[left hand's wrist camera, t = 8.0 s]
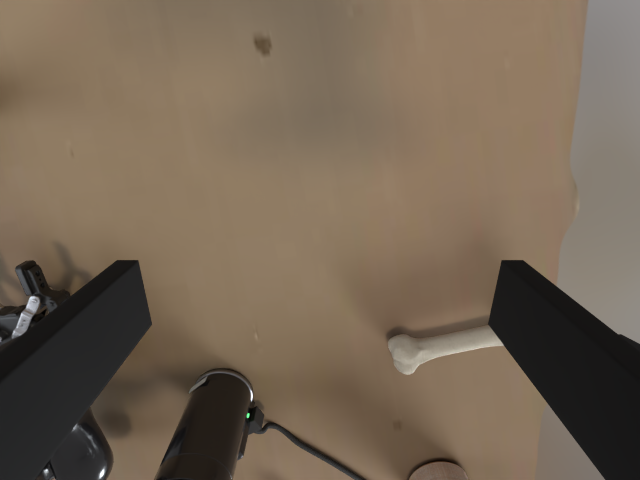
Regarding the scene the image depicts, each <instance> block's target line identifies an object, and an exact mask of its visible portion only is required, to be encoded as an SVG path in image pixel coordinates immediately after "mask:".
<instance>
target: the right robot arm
mask: <svg viewBox="0 0 640 480" xmlns="http://www.w3.org/2000/svg"><path fill="white" fill-rule="evenodd" d="M15 271H16V273H17V275H18V278H19V280H20V282H21V284H22V287H23V289H24V291H25V293H26V295H31V297H30V298H29V301H28V303H27V305H22V306H19V307H14V306H3V305H2V304H0V345H2V344H4V343H6V342H8V341H10V340H12V339H14V338H16V337H18V336H21V335H22V334H23V333H25V332H26V331H27V330H28V329H30V328H31V327H32V326H34V325H35V324H36V323H37V322H39V321H40V320H41V319H43V318H44V317H45V316H46V315H47V313H48V311H49V313H50V312H51V311H53V310H54V309H55V308H57V307H58V306H59V305H60V304H62V303H63V302H64V301H66V300H67V299H68V298H69V297H70V294H69V292H68V291H66V290H61V291H56V290H53V288H52V287H49V286H48V284H47V282H46V279H45V277H44V274H43V273H42V270H41V268H40V267H39V266H38V265H37V264H36V262H35V261H25V262H23V263H22V264H20V265H18V266H16V268H15ZM192 391H193V392H192ZM190 392H192V394H191V397H190V399H189V401H188V403H187V406H186V408H185V410H184V412H183V415H182V417H181V419H180V422H179V424H178V426H177V428H176V431H175V433H174V435H173V438H172V440H171V442H170V444H169V447H168V449H167V451H166V453H165V456H164V458H163V460H162V463H161V465H160V467H159V470H158V472H157V474H156V476H155V479H154V480H233V477H234V472H235V468H236V464H237V460H239V459H241V458H242V457H243V455H244V451H245V447H246V442H247V437H248V435H249V434H252V433H256V434H263V433H265V432H266V431H267V429H268V428H273V429H277V430H279V431H280V432H282V433H283V434H284V435H285V436H287V437H288V438H289V439H290V440H291V441H292V442H293V443H295V444H296V445H297V446H299V447H300V448H302V449H304V450H306V451H307V452H309V453H311V454H313V455H314V456H316V457H318V458H320V459H322V460H323V461H325V462H327V463H329V464H330V465H332V466H334V467H335V468H337V469H339V470H340V471H342V472H343V473H345V474H347V475H348V476H350V477H351V478H353V479H355V480H363V479H362V478H360V477H359V476H357V475H356V474H354V473H353V472H351V471H350V470H348V469H346V468H345V467H343V466H342V465H340V464H338V463H337V462H335V461H333V460H332V459H330V458H328V457H326V456H325V455H323V454H321V453H319V452H318V451H316V450H314V449H312V448H311V447H309V446H307V445H305V444H304V443H302V442H300V441H299V440H298V439H297V438H295V437H294V436H293V435H292V434H291V433H290V432H289V431H287V430H286V429H284V428H283V427H281V426H279V425H277V424H274V423H267V424H265V425H264V427H263V428H262V424H263V418H264V414H263V413H262V412H261V411H260V409H259V408H258V407H257V406H256V407H254V405H255V402H254V401H253V399H252V398H253V389H252V386H251V384H250V383H249V381H248V380H247V379H246V378H245V377H244V376H242V375H241V374H239V373H237V372H235V371H231V370H227V369H215V370H211V371H208V372H206V373H204V374H203V375H201V376H200V377H199V379H198V380H197V382H196V384H195V385H194V386H193V387H192V388H191V389H190V391H189V393H190ZM113 460H114V458H113V452H112V450H111V448H110V446H109V444H108V442H107V440H106V438H105V436H104V435H103V433H102V431H101V429H100V427H99V426H98V424H97V422H96V421H95V419H94V416H93V414H92V411H91V408H90V407H89V408H88V410H87V411H86V412H85V414H84V415H83V416H82V418H81V419H80V420H79V422H78V423H77V424H76V426H75V427H74V428H73V430H72V431H71V432H70V434H69V435H68V436H67V438H66V439H65V440H64V441H63V443H62V444H61V445H60V447H59V448H58V449H57V451H56V452H55V453H54V455H53V456H52V457H51V459H50V460H49V461H48V463H47V464H46V465H45V467H44V468H43V469H42V471H41V472H40V473H39V475H38V476H37V477H36V479H35V480H52V479H54V478H55V480H106V479H107V478H108V476H109V475H110V472H111V470H112V467H113Z"/></svg>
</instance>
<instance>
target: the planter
mask: <svg viewBox="0 0 640 480" xmlns="http://www.w3.org/2000/svg"><path fill="white" fill-rule="evenodd" d="M409 480H469V478H468V476H467V474H466V472H465V471H464V470H463V469H462V468H461V467H460V466H458V465H456V464H453V463H450V462H444V461H436V462H430V463H427V464H425V465H422V466H421V467H419V468H418V469H416V470H415V471H414V472H413V473H412V475H411V476H410V478H409Z"/></svg>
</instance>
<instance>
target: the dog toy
mask: <svg viewBox="0 0 640 480" xmlns="http://www.w3.org/2000/svg"><path fill="white" fill-rule="evenodd" d="M490 346H504V345H503V343H502V342H501V341H500V339H499V338H498V337H497V336H496V334H495V333H494V332H493V330H492V329H491V328H490V326H489V325H485V326H481V327H476V328H471V329H467V330H462V331H457V332H453V333H448V334H443V335H438V336H433V337H428V338H413V337H410V336H409V335H406V334H400V335H397V336H394V337H392V338H390V339H389V341H388V348H389V350H390V352H391V353H392V358H393V359H394V365H395V367H396V368H397V369H398V370H399V371H400V372H401V373H403V374H406V375H408V374H411V373H413V372H414V371H415V370H416V368H417V367H418V366H419V365H420V364H422V363H424V362H426V361H429V360H431V359H434V358H436V357H440V356H444V355H449V354H454V353H458V352H463V351H468V350H473V349H478V348H483V347H490Z"/></svg>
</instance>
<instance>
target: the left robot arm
mask: <svg viewBox="0 0 640 480" xmlns="http://www.w3.org/2000/svg"><path fill="white" fill-rule="evenodd" d="M151 325H152V322H151V318H150V313H149V308H148V304H147V299H146V294H145V290H144V285H143V280H142V276H141V271H140V266H139V262H138V260H117V261H115V262H114V263H113V264H112V265H110V266H109V267H108V268H106V269H105V270H104V271H103V272H101V273H100V274H99V275H98V276H96V277H95V278H94V279H92V280H91V281H90V282H89V283H87V284H86V285H85V286H83V287H82V288H81V289H80V290H78V291H77V292H76V293H75V294H73V295H72V296H71V297H69V298H68V299H67V300H66V301H64V302H63V303H62V304H60V305H59V306H58V307H57V308H55V309H54V310H53V311H51V312H50V313H49V314H48V315H46V316H45V317H44V318H43V319H41V320H40V321H39V322H37V323H36V324H35V325H34V326H32V327H31V328H30V329H28V330H27V331H26V332H25V333H23V334H22V335H21V336H18V337H16V338H14V339H12V340H10V341H8V342H6V343H4V344H2V345H0V480H35V479H36V477H37V476H38V475H39V473H40V472H41V471H42V469H43V468H44V467H45V465H46V464H47V463H48V461H49V460H50V459H51V457H52V456H53V455H54V453H55V452H56V451H57V449H58V448H59V447H60V445H61V444H62V443H63V441H64V440H65V439H66V438H67V436H68V435H69V434H70V432H71V431H72V430H73V428H74V427H75V426H76V424H77V423H78V422H79V420H80V419H81V418H82V416H83V415H84V414H85V412H86V411H87V410H88V408H89V407H90V406H91V404H92V403H93V402H94V400H95V399H96V398H97V396H98V395H99V394H100V392H101V391H102V390H103V388H104V387H105V386H106V385H107V383H108V382H109V381H110V379H111V378H112V377H113V375H114V374H115V373H116V371H117V370H118V369H119V367H120V366H121V365H122V363H123V362H124V361H125V359H126V358H127V357H128V355H129V354H130V353H131V351H132V350H133V349H134V347H135V346H136V345H137V343H138V342H139V341H140V339H141V338H142V337H143V336H144V334H145V333H146V332H147V330H148V329H149V328H150V326H151ZM488 325H489V326H490V328H491V329H492V330H493V332H494V333H495V334H496V336H497V337H498V338H499V339H500V341H501V342H502V343H503V345H504V346H505V347H506V349H507V350H508V351H509V353H510V354H511V355H512V357H513V358H514V359H515V361H516V362H517V363H518V365H519V366H520V367H521V369H522V370H523V371H524V373H525V374H526V375H527V377H528V378H529V379H530V381H531V382H532V383H533V385H534V386H535V387H536V389H537V390H538V391H539V392H540V394H541V395H542V396H543V398H544V399H545V400H546V402H547V403H548V404H549V406H550V407H551V408H552V410H553V411H554V412H555V414H556V415H557V416H558V418H559V419H560V420H561V422H562V423H563V424H564V426H565V427H566V428H567V430H568V431H569V432H570V434H571V435H572V436H573V438H574V439H575V440H576V441H577V443H578V444H579V445H580V447H581V448H582V449H583V451H584V452H585V453H586V455H587V456H588V457H589V459H590V460H591V461H592V463H593V464H594V465H595V467H596V468H597V469H598V471H599V472H600V473H601V475H602V476H603V477H604V479H605V480H640V344H639V343H637V342H635V341H633V340H631V339H629V338H627V337H625V336H623V335H621V334H620V335H619V334H617V333H615V332H614V331H613V330H612V329H610V328H609V327H608V326H606V325H605V324H604V323H603V322H601V321H600V320H599V319H597V318H596V317H595V316H594V315H592V314H591V313H590V312H588V311H587V310H586V309H585V308H583V307H582V306H581V305H580V304H578V303H577V302H576V301H574V300H573V299H572V298H571V297H569V296H568V295H567V294H565V293H564V292H563V291H562V290H560V289H559V288H558V287H557V286H555V285H554V284H553V283H551V282H550V281H549V280H548V279H546V278H545V277H544V276H542V275H541V274H540V273H539V272H537V271H536V270H535V269H534V268H532V267H531V266H530V265H528V264H527V263H526V262H525V261H523V260H502V262H501V266H500V271H499V276H498V280H497V285H496V290H495V294H494V299H493V304H492V308H491V313H490V318H489V322H488Z"/></svg>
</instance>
